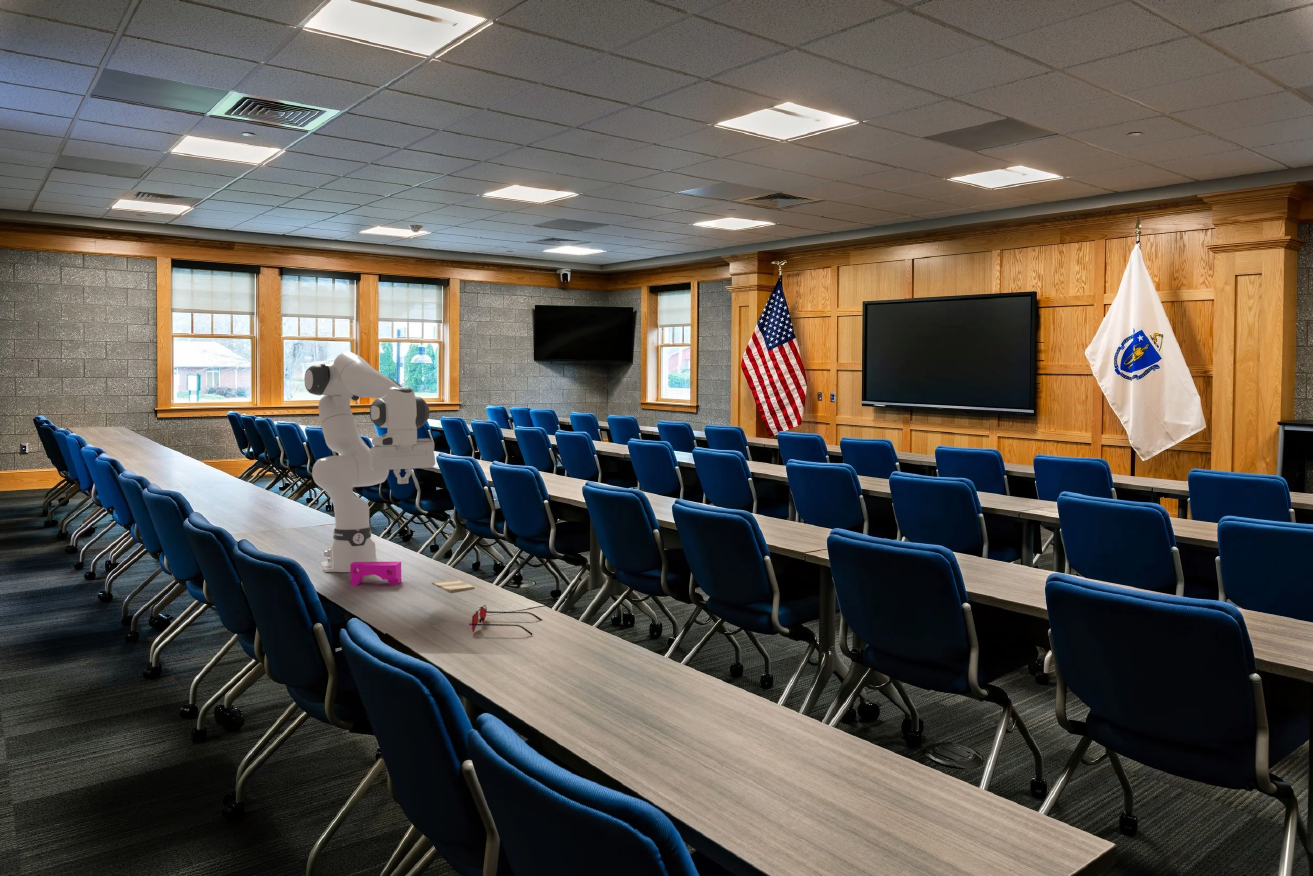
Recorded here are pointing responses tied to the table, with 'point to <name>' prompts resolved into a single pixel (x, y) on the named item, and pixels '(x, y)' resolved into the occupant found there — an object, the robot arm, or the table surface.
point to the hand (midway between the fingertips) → (403, 483)
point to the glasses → (482, 618)
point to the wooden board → (453, 585)
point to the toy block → (376, 571)
